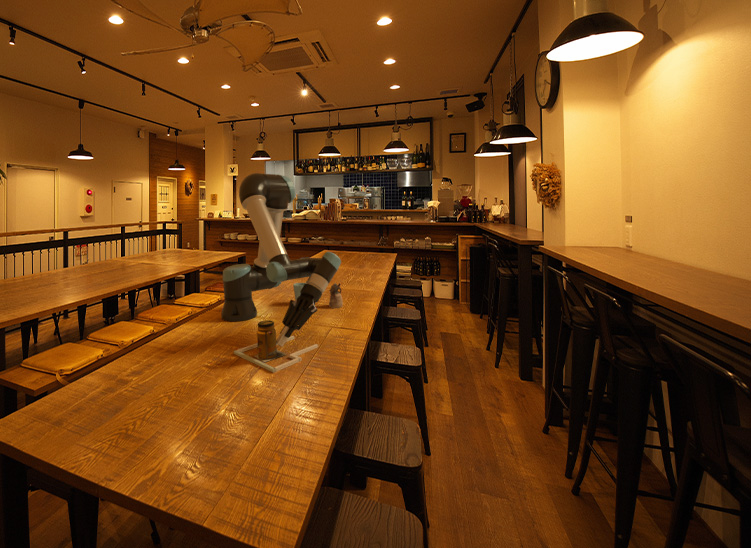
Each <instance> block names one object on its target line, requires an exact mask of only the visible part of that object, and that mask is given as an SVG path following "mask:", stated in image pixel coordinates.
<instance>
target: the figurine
mask: <svg viewBox="0 0 751 548" xmlns="http://www.w3.org/2000/svg"><path fill="white" fill-rule="evenodd" d="M341 285H342V284H341V283H340V282H339V283H338V284H337V283H335V282H334V283H333V284H332V285H331V286H330V289H329V294H330V297H329V302H328V308H330V307H331V308H330V309H340V307H341V308H342V307H343V305H344V300H343V297H342V288H341ZM339 290H340V291H339Z"/></svg>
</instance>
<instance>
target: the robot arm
mask: <svg viewBox="0 0 751 548" xmlns="http://www.w3.org/2000/svg"><path fill="white" fill-rule="evenodd" d="M238 190H239V191H238V199H239V201H240V204H241V207H242V208H243V209H244V210H245V211H246V212H247V215H248V217H249V218H250V221H251V224H252V226H253V228H254V230H255V232H256V236H257V237H258V240H259V245H258V253H257V257H256V258H255V259H254V260H253V266H251V265H250V264H248V263H241V264H237V263H236V264H232V265H229V266H227V267H225V268H224V269H223V270H222V283H223V285H222V287H223V295H224V297H223V298H224V302H223V305H222V309H221V313H220V314H221V320H223V319H224V320H223V321H225V320H228V321H227V322H243V321H248V320H251V319H254V318H256V317H257V315H258V310H257V307H256V305H255V303H254V300H253V292H258V291H263V290H271V289H274V288H277V287H279V286H280V285H281V284H282V282H283V283H284V282H286V281H292V280H298V279H299V280H300V279H305V278H307V280H306V282H305V283H306V284H305V285H304V286H303V288H302V289H301V291H300V293H301V294H300V296H299V297H298V298H297V300H295V299H294V300H293V299H291V300H290V301H289V306H288V308H287V310H286V312H285V314H284V316H283V319H282V324H283V328H282V329H281V331H280V333H279V335H278V337H277V338H276V343H277V344H278V345H277V346H280V347H282V348H283V347H284V346H285V344H286V343H287V342H288V341H287V339H288V338H289V337H291V336H292V334H293V332H294V331H299V330H301V329H302V328H303V327H304V325H305V324H306V323H307V321H308V320H310V318H311V317H312V315H314V314H316V313H317V312H318V308H317V307H316V303H318V302H319V300H320V299H321V298H322V296H323V294H324V292H325V291H326V289H327V288H328V286H329V284H330V283H331V281H332V280H333V278H334V276H336V273H337V272H338V271H339V268H340V266H341V264H342V260H341V258H340V257H339V256H338V255H337V254H336V253H333V252H332V251H326V252H325V253H324V254H323V255H322V257H310V256H307V257H300V258H298V259H290V257H289V255H288V252H287V250H286V247H285V246H284V243H283V241H282V239H281V232H282V223H283V217H284V212H285V211H287V210H288V208H289V204H291V203H293V201H294V200H295V198H296V188H295V185H294V183H293V181H292V179H291V178H290V177H289V176H287V175H283V174H275V173H274V174H273V173H260V172H254V173H251V174H250V173H249V175H247V176H246V177H244V178H243V179H242V181H241V183H240V185H239V189H238ZM286 341H287V342H286Z"/></svg>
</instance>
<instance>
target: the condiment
mask: <svg viewBox="0 0 751 548" xmlns="http://www.w3.org/2000/svg"><path fill="white" fill-rule="evenodd" d="M256 339H257V343H258V347H257V354H256V355H253V358H255V359H257V360H259V361H261V362H263V363H266V362H269V361H273V360H275V359H277V358H280V357H283V356H286V355H287V353H285V352H282V351H280V350H279V349H278V348H277V346H278V345H276V340H277V330H276V328H275V321H273V320H271V319H270V320H269V319H267V320H265V319H264V320H261V321H258V322H257V331H256Z"/></svg>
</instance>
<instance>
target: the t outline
mask: <svg viewBox="0 0 751 548" xmlns="http://www.w3.org/2000/svg"><path fill="white" fill-rule="evenodd" d="M292 340H295V336H294V335H291V336H290V337H289V338H288V339H287V341H286V342H285V343H287V342H290V341H292ZM276 346H279V345H278V344H277V343H276ZM318 347H319V344H317V343H315V344H313V345H310V346H307V347H305V348H303V349H300V350H297V351H295V352H293V353H290V354H289V359H291V360H288V361H286V362H284V363H282V364H278V365H277V366H275V367H274V366H271V365H269V364H267V363H266V362H263V361H261V360H259V359H258V358H255V357H252V356H250V355H248V354H245V353H244V352H246V351H250V350H252V349H255V348H258V343H254V344H251V345H248V346H245V347H241V348H238V349H237V350H234V351H233V354H234V355H236V356H238V357H240V358H242V359H244V360H245V361H248V362H250V363H253V364H254V365H256V366H258V367H261V368H263V369H264V370H266V371H268V372H271V373H274V374H275V373H277V372H279V371H281V370H282V369H286V368H287V367H290V366H292V365H294V364H296V363H297V364H298V363H300V362H302V357H301V356H300V355H303V354H306V353H307V352H311V351H312V350H315V349H318Z"/></svg>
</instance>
